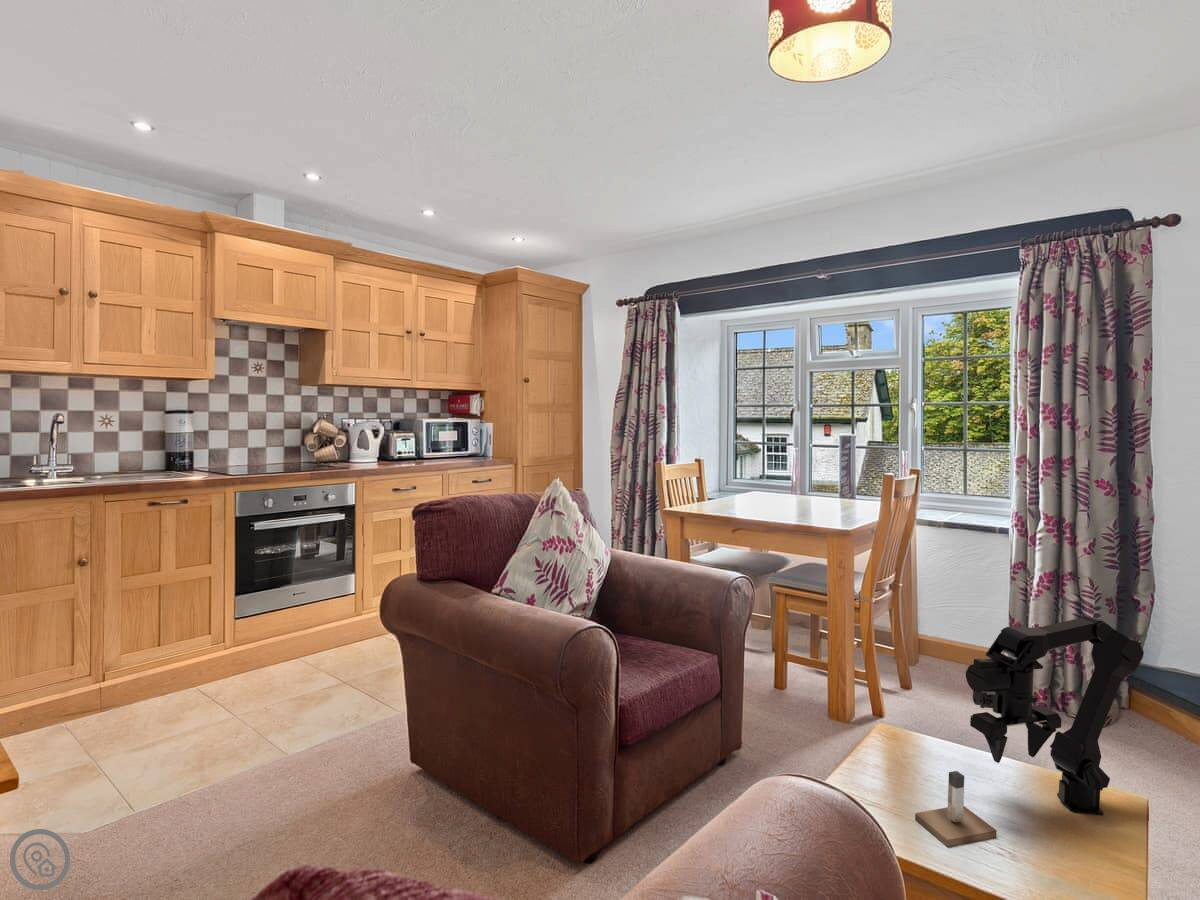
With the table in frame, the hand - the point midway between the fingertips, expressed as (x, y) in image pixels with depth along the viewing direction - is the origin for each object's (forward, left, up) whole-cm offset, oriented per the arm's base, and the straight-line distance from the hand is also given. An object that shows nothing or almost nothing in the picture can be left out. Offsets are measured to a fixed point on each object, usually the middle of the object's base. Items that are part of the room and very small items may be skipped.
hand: (1014, 759), depth 143 cm
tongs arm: (+14, +8, -10) cm, 19 cm away
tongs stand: (+14, +8, -12) cm, 20 cm away
